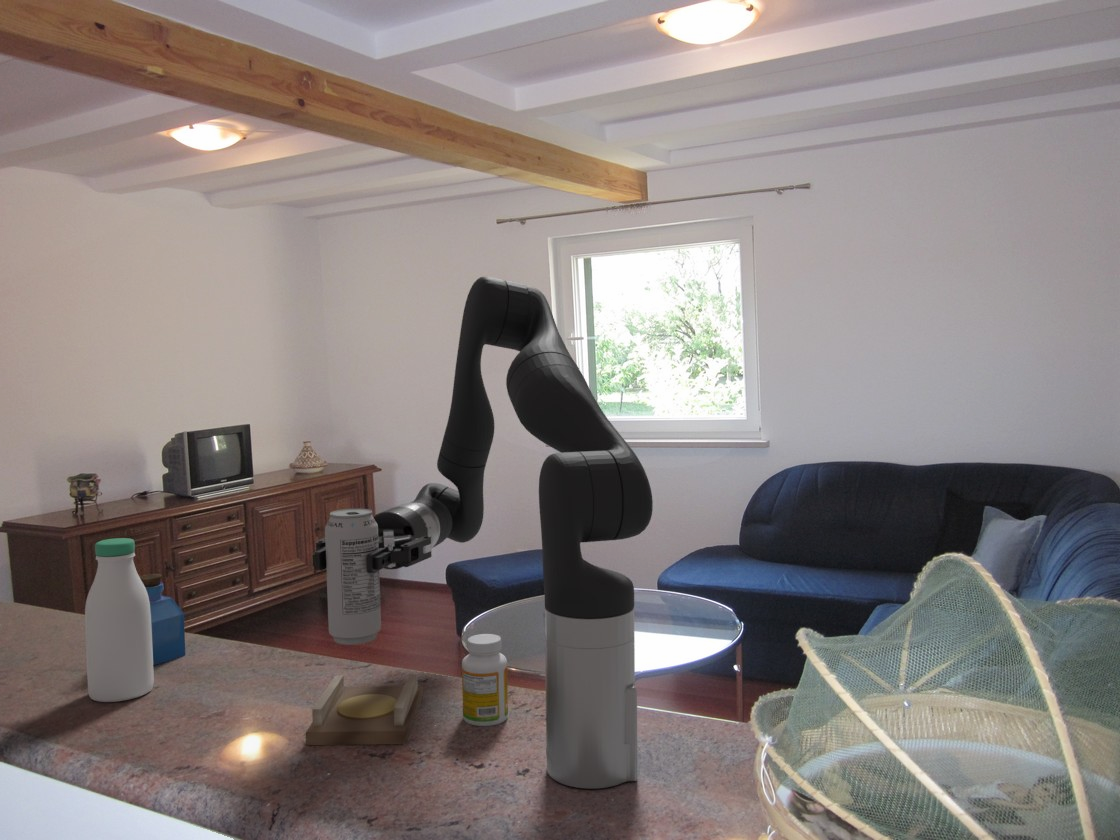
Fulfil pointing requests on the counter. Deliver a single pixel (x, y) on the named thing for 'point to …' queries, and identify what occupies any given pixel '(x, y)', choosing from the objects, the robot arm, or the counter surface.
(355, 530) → the energy drink can
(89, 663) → the milk bottle
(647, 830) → the counter surface
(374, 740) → the stand
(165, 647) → the perfume bottle
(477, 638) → the supplement bottle
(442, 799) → the counter surface
